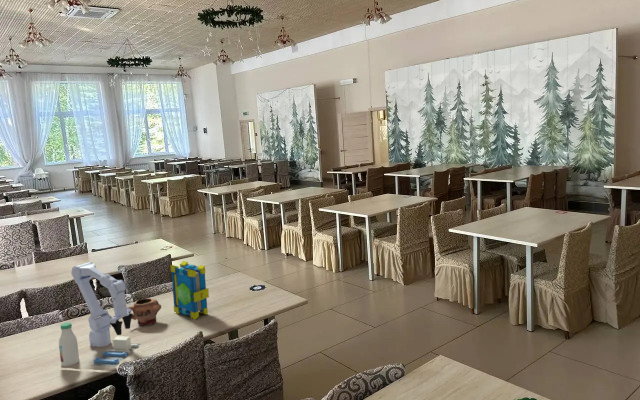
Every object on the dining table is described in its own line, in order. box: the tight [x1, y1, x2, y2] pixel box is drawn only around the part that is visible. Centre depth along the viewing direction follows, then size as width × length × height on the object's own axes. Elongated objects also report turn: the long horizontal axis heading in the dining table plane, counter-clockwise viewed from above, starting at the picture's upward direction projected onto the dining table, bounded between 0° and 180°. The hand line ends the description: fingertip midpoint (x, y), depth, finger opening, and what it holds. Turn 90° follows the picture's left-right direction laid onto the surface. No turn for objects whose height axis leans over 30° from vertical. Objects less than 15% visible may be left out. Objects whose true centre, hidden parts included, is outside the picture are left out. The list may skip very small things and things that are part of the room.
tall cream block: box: [112, 335, 132, 350], centre depth 240 cm, size 7×4×6 cm, turn 80°
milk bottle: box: [58, 322, 80, 367], centre depth 228 cm, size 8×8×20 cm
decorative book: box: [170, 260, 210, 320], centre depth 286 cm, size 14×23×30 cm, turn 53°
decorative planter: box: [127, 297, 162, 327], centre depth 273 cm, size 20×12×14 cm, turn 125°
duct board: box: [90, 342, 141, 368], centre depth 236 cm, size 12×24×3 cm, turn 170°
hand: (123, 331), depth 239 cm, fingers open, 7 cm apart
